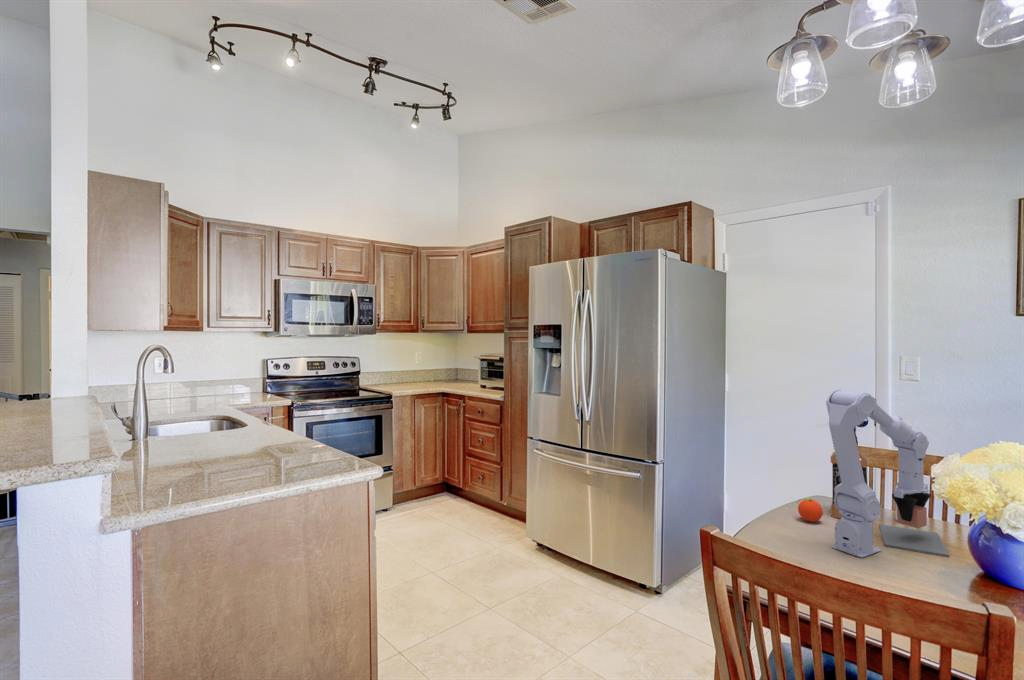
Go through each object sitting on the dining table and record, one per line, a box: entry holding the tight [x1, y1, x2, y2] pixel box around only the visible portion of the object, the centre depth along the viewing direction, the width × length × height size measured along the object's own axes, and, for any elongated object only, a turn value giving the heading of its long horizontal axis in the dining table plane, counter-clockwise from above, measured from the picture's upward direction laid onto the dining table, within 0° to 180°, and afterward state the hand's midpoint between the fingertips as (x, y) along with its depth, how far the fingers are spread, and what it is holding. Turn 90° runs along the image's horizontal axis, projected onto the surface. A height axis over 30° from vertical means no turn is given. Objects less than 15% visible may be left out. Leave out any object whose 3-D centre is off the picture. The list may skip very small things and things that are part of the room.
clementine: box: [797, 498, 824, 523], centre depth 162 cm, size 8×7×7 cm
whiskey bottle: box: [830, 426, 869, 519], centre depth 166 cm, size 10×10×32 cm
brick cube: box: [897, 505, 928, 529], centre depth 145 cm, size 5×5×5 cm
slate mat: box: [879, 523, 950, 558], centre depth 145 cm, size 18×14×1 cm
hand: (911, 518), depth 145 cm, fingers closed on brick cube, 5 cm apart
